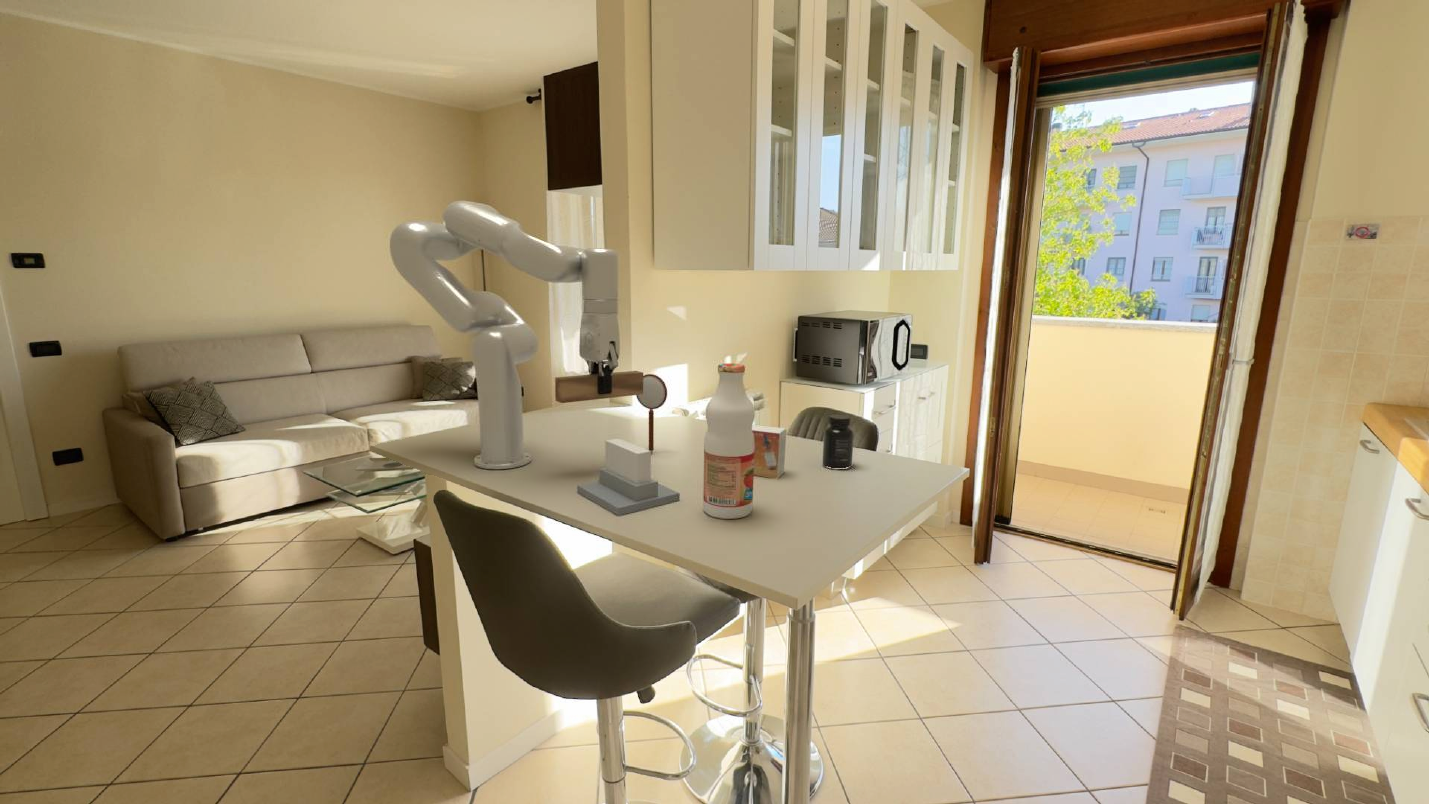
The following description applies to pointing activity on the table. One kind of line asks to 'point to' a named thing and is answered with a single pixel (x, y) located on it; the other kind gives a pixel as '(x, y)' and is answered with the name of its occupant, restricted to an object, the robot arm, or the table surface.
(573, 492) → the table surface
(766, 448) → the small box
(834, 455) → the supplement bottle
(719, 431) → the fruit juice
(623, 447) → the ridge stand
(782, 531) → the table surface
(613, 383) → the walnut bar
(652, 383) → the magnifying glass
